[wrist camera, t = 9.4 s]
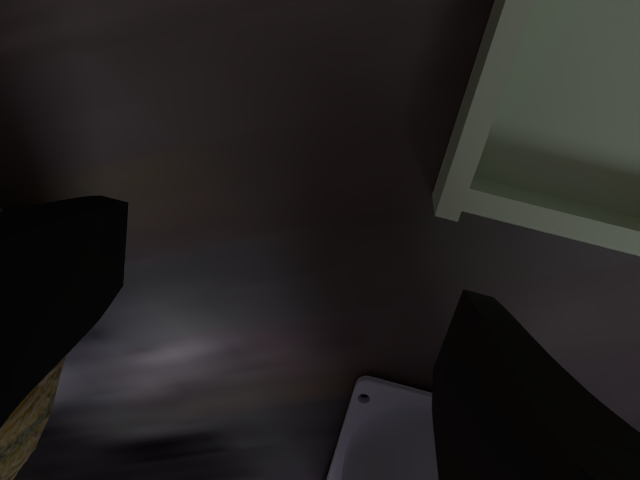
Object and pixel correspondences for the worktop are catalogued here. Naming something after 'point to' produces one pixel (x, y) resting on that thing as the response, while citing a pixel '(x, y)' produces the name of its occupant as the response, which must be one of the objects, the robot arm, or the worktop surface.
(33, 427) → the ribbed pale melon
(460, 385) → the robot arm
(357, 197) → the worktop surface
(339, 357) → the worktop surface
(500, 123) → the parts tray
